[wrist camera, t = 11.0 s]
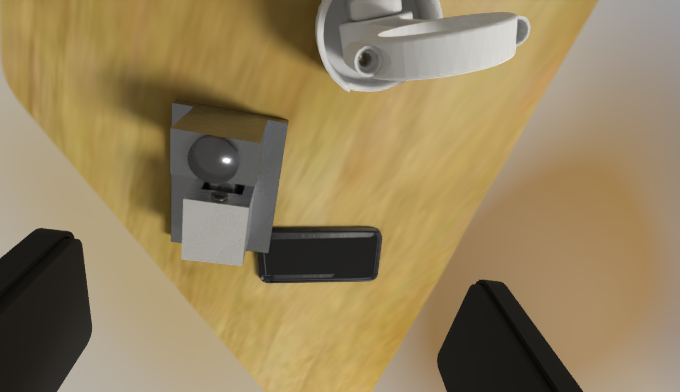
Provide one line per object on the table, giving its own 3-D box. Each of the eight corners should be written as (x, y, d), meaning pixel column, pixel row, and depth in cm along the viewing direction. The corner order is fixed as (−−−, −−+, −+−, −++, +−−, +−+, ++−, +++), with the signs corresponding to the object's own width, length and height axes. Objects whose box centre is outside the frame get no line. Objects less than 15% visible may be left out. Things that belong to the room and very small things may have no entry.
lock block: (194, 232, 41) (181, 259, 37) (197, 173, 38) (183, 195, 34) (248, 239, 42) (242, 266, 38) (255, 182, 39) (249, 205, 35)
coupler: (175, 99, 36) (140, 125, 28) (288, 120, 37) (284, 149, 30) (174, 235, 42) (145, 286, 35) (269, 247, 44) (261, 298, 37)
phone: (256, 231, 42) (383, 231, 44) (257, 226, 43) (381, 226, 45) (259, 284, 46) (376, 282, 47) (260, 278, 47) (375, 276, 48)
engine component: (305, -21, 32) (325, 93, 37) (306, -57, 14) (347, 178, 19) (426, -43, 32) (431, 73, 37) (587, -109, 14) (557, 138, 19)
